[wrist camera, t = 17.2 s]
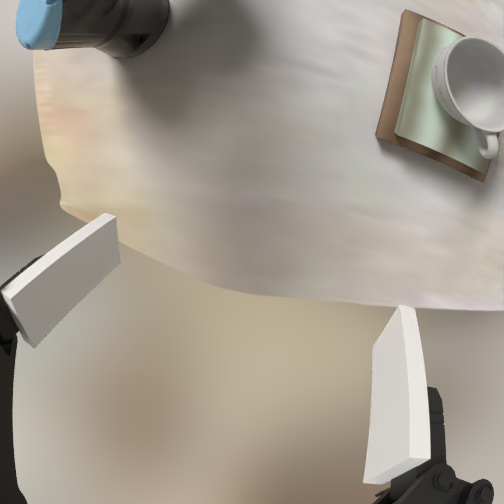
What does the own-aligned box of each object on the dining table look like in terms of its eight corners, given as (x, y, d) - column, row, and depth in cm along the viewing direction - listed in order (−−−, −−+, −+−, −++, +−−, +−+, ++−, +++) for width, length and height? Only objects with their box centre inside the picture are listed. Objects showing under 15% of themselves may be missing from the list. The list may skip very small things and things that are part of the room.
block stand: (375, 134, 38) (380, 140, 33) (401, 14, 27) (409, 3, 22) (475, 177, 35) (491, 189, 30) (504, 65, 24) (523, 64, 19)
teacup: (421, 37, 24) (439, 25, 17) (492, 55, 21) (522, 51, 14) (424, 141, 31) (443, 154, 24) (492, 153, 28) (521, 169, 21)
